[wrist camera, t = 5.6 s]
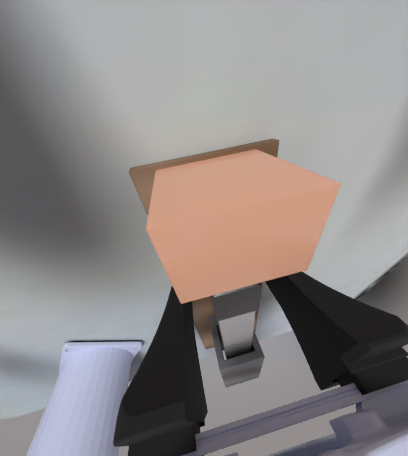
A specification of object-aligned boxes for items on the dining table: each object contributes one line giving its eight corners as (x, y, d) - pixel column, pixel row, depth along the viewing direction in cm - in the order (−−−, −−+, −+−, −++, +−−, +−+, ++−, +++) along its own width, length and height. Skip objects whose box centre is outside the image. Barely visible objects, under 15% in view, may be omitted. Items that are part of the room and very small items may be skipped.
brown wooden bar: (253, 330, 26) (271, 374, 21) (204, 344, 25) (213, 392, 21) (273, 138, 9) (372, 162, 5) (130, 168, 8) (94, 226, 4)
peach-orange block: (253, 209, 11) (307, 270, 7) (174, 228, 10) (181, 304, 6) (255, 149, 8) (341, 183, 4) (155, 170, 8) (145, 229, 4)
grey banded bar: (242, 328, 20) (252, 357, 17) (219, 335, 19) (226, 365, 17) (241, 180, 8) (271, 207, 6) (186, 192, 8) (194, 225, 6)
